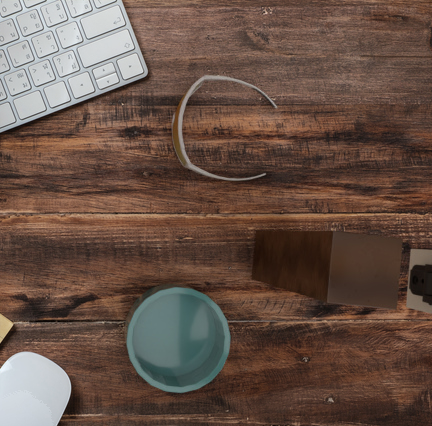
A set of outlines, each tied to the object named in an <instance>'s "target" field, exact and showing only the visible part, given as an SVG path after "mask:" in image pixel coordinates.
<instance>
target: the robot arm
mask: <svg viewBox="0 0 432 426" xmlns="http://www.w3.org/2000/svg"><path fill="white" fill-rule="evenodd" d="M409 289H410V290H411V293H412V294H414V295H418V296H423V298H422V302H425V303H429V305H432V265H430V264H425V265H414V266H413V268H412V270H410V282H409Z"/></svg>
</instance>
